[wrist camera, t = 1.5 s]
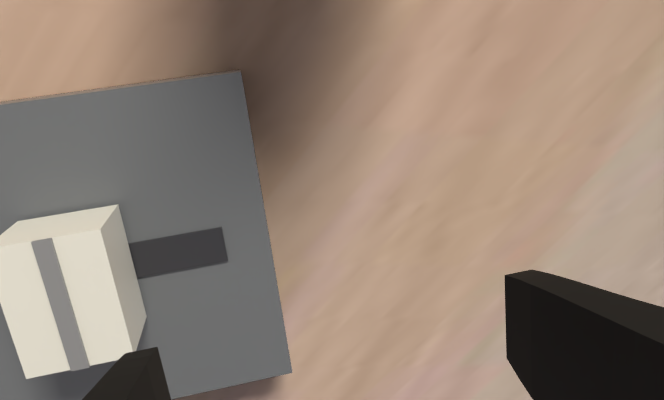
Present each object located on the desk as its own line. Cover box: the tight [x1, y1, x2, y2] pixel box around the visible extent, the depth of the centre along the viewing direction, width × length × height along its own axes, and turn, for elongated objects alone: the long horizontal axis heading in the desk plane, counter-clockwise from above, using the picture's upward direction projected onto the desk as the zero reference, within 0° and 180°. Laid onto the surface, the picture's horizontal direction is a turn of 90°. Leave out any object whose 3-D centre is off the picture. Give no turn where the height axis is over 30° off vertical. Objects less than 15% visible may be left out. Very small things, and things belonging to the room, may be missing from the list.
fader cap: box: [0, 204, 147, 379], centre depth 16 cm, size 4×3×3 cm
